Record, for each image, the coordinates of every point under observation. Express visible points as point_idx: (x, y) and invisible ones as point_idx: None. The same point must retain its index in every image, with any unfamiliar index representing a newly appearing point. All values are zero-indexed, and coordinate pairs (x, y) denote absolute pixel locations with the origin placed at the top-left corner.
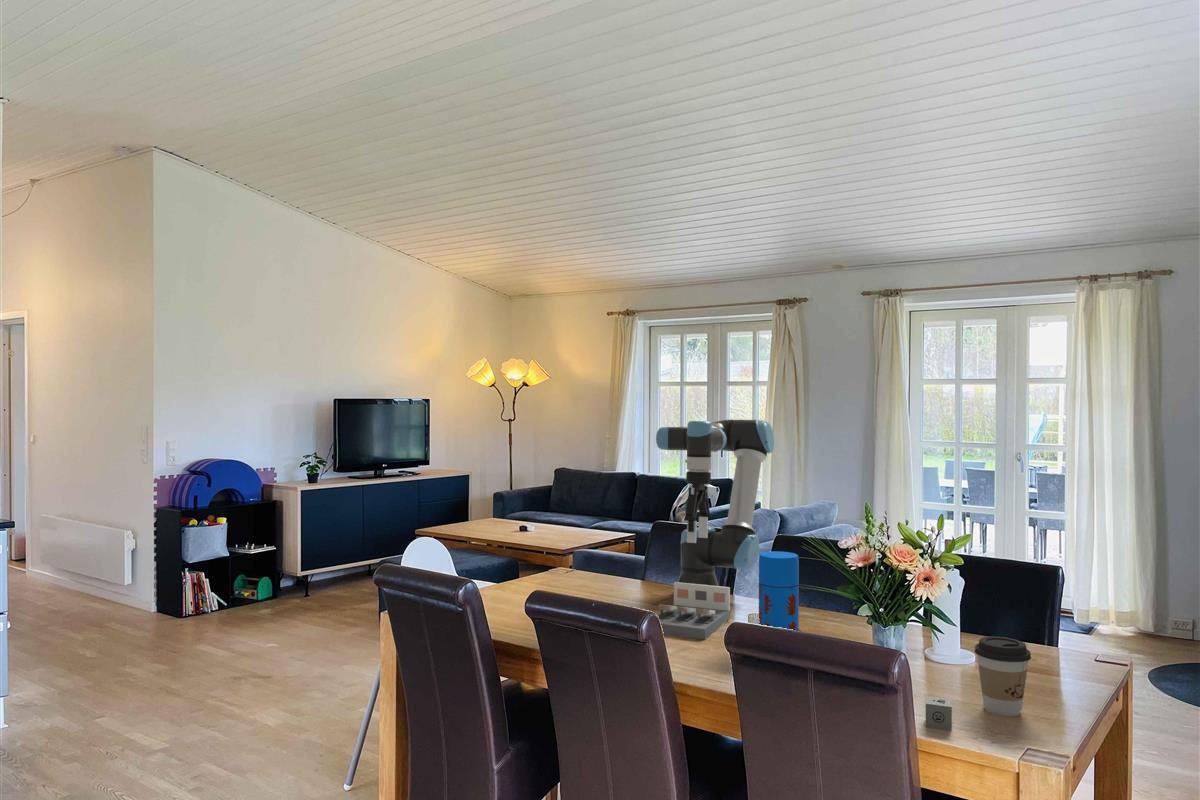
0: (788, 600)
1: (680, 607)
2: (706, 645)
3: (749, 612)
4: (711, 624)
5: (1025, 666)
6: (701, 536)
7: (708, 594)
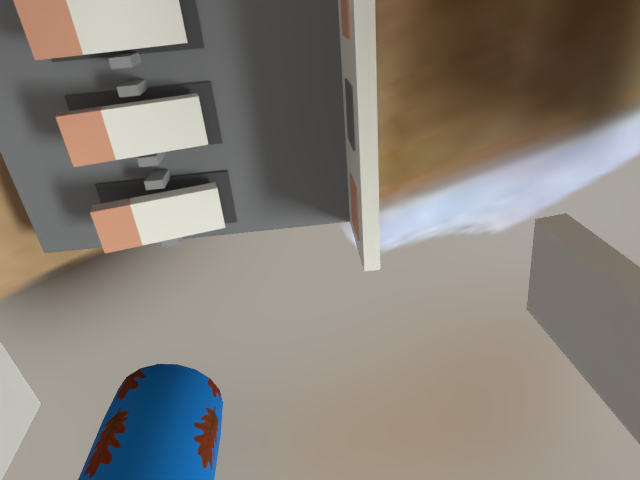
0: None
1: (61, 130)
2: (9, 262)
3: (491, 222)
4: None
5: None
6: (540, 261)
7: (353, 157)
